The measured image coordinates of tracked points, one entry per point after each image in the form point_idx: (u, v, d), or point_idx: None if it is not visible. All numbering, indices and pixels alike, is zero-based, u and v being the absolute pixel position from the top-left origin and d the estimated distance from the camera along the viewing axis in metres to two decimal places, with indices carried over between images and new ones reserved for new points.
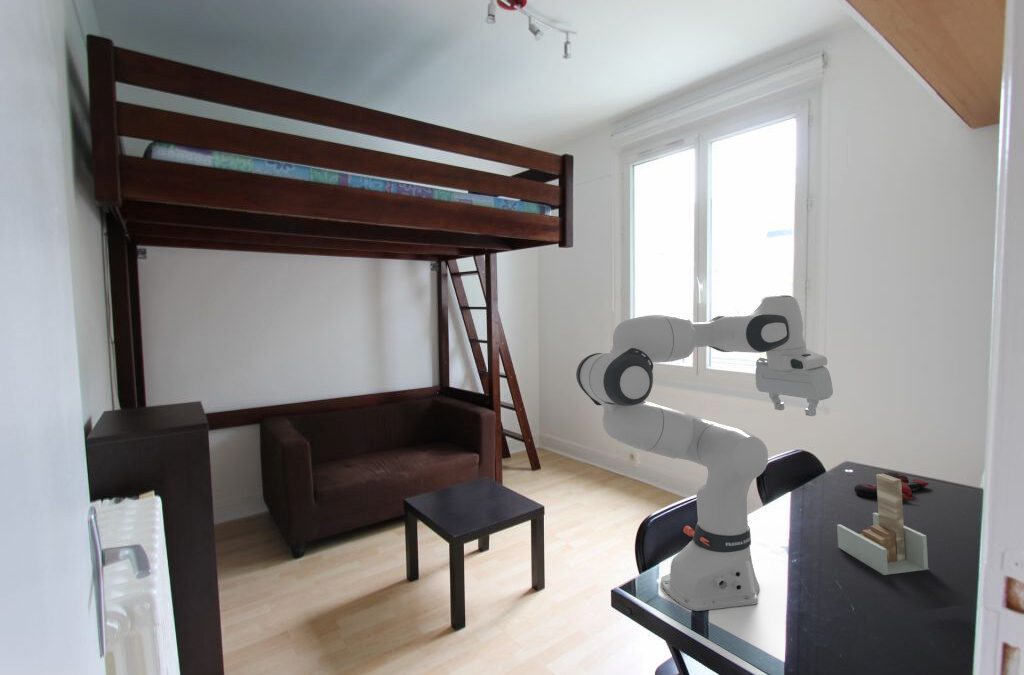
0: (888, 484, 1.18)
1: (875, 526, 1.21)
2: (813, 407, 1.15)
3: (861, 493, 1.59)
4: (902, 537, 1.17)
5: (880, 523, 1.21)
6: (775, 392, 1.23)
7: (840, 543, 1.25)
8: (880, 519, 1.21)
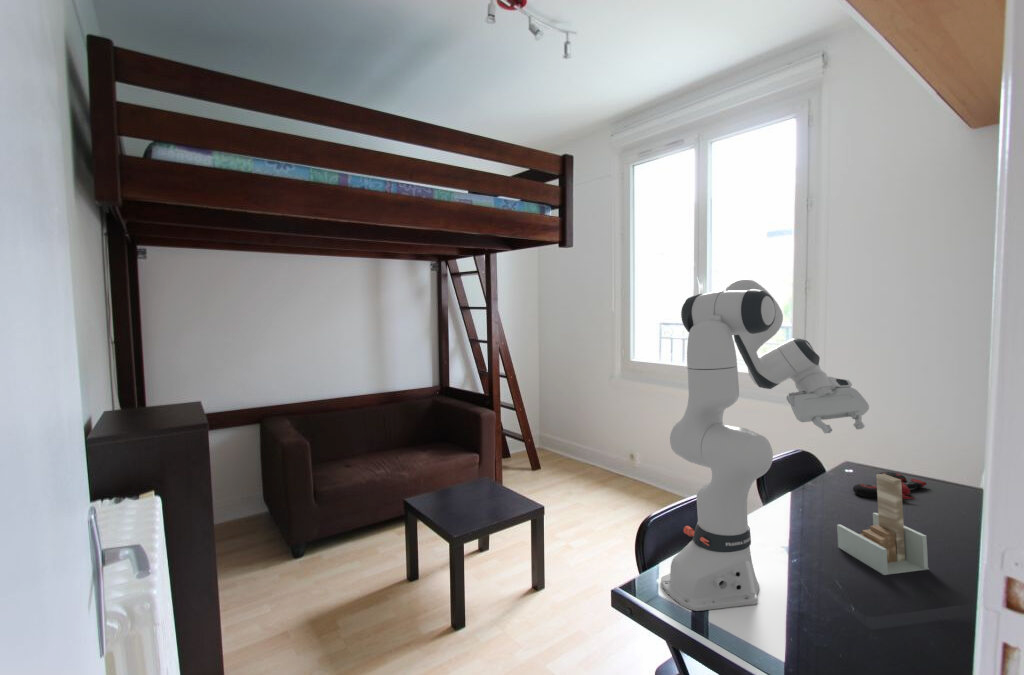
0: (888, 484, 1.18)
1: (875, 526, 1.21)
2: None
3: (860, 493, 1.59)
4: (902, 537, 1.17)
5: (880, 523, 1.21)
6: (825, 412, 1.34)
7: (840, 543, 1.25)
8: (880, 519, 1.21)
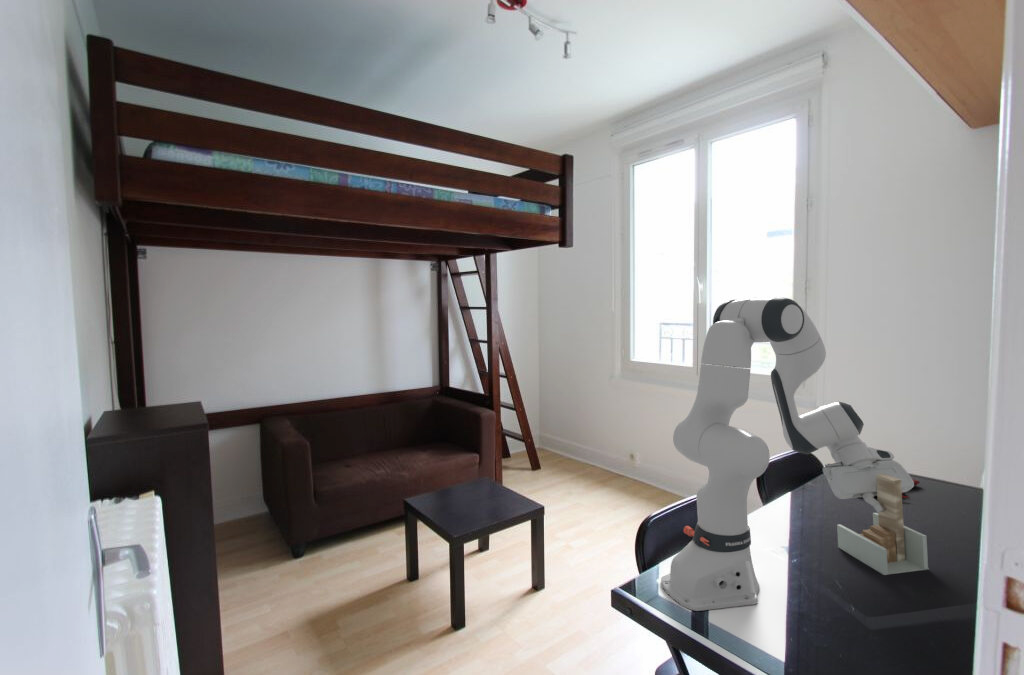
0: (888, 484, 1.18)
1: (875, 526, 1.21)
2: None
3: None
4: (902, 537, 1.17)
5: (880, 523, 1.21)
6: (867, 489, 1.21)
7: (840, 543, 1.25)
8: (880, 519, 1.21)
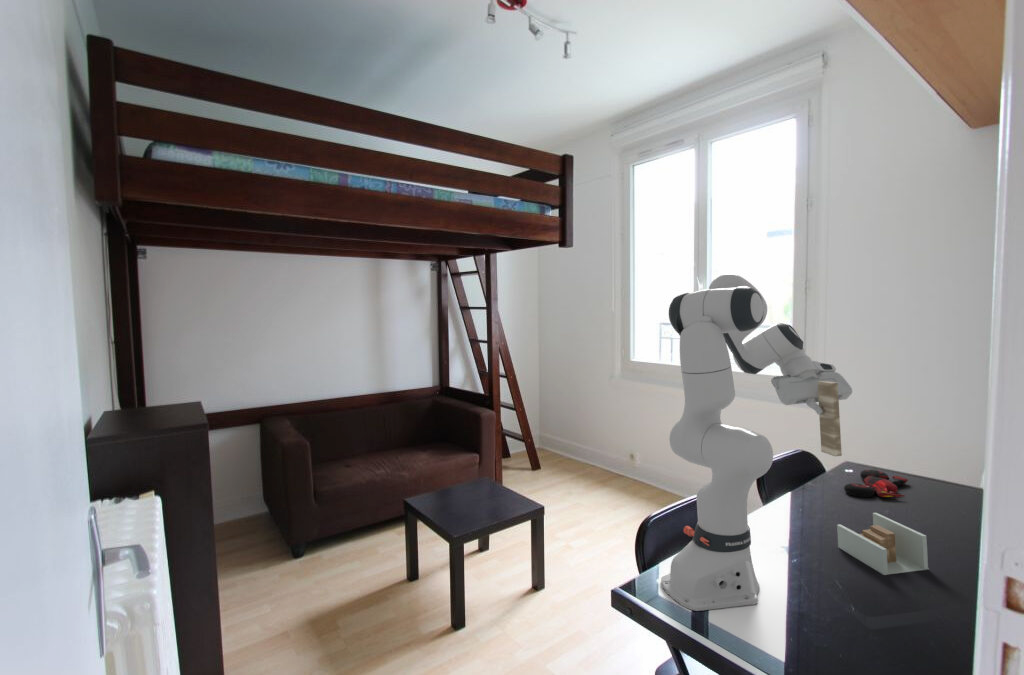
0: (826, 387, 1.31)
1: (875, 526, 1.21)
2: None
3: (853, 492, 1.60)
4: (839, 434, 1.30)
5: (821, 425, 1.34)
6: (809, 395, 1.35)
7: (840, 543, 1.25)
8: (821, 421, 1.34)
